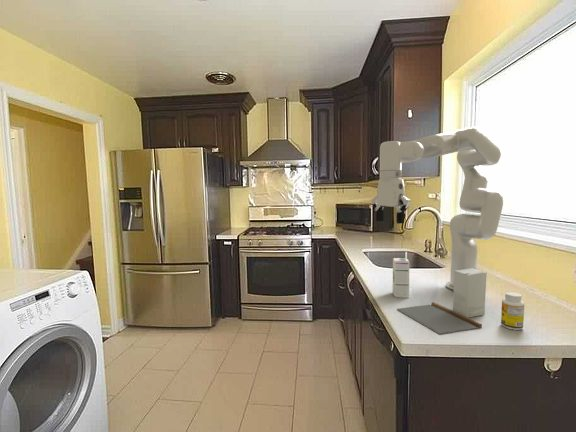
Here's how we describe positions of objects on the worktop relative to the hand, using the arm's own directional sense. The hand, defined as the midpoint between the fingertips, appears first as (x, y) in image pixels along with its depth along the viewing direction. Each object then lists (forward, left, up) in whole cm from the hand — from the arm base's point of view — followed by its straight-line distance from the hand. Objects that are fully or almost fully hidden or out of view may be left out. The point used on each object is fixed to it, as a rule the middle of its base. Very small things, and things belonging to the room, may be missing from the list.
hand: (389, 222), depth 117 cm
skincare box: (-18, +19, -30) cm, 40 cm away
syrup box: (-8, -4, -30) cm, 32 cm away
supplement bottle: (-22, +31, -30) cm, 49 cm away
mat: (-4, +19, -30) cm, 36 cm away
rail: (-12, +19, -30) cm, 38 cm away
